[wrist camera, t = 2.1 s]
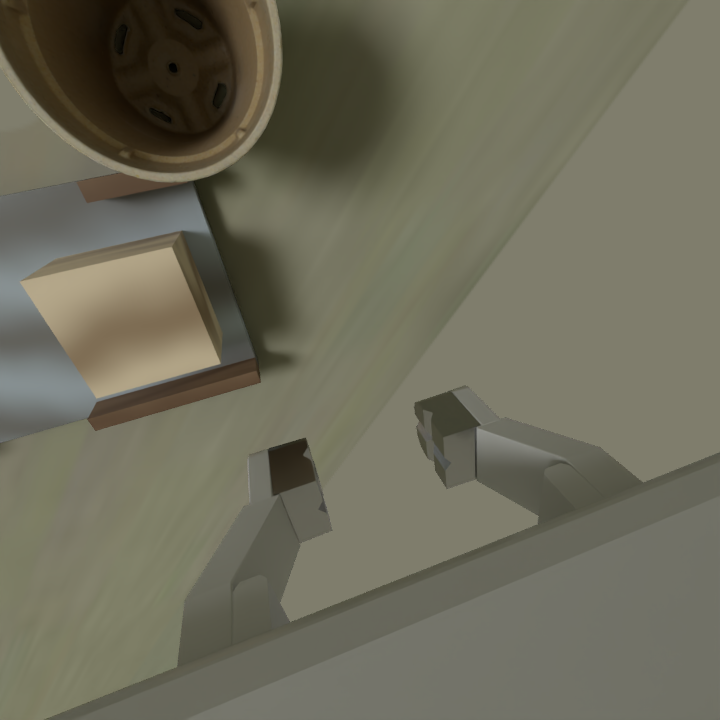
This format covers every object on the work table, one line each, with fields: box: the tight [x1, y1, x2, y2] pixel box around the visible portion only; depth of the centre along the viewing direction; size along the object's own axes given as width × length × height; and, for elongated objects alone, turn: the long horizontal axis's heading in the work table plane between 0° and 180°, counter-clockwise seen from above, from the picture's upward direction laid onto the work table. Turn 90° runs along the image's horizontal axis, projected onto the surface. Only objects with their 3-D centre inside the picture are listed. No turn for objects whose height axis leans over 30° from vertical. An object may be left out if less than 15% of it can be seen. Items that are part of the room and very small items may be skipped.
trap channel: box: [0, 173, 261, 443], centre depth 23 cm, size 14×24×3 cm, turn 100°
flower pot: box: [0, 0, 283, 183], centre depth 17 cm, size 9×9×9 cm
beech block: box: [20, 230, 223, 399], centre depth 22 cm, size 7×7×4 cm
